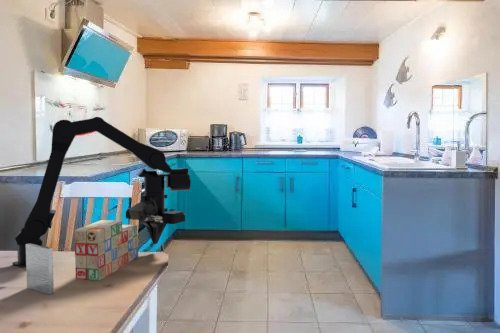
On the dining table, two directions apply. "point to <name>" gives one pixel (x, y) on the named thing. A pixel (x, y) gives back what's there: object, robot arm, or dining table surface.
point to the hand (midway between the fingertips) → (155, 243)
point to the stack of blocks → (104, 248)
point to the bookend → (39, 268)
